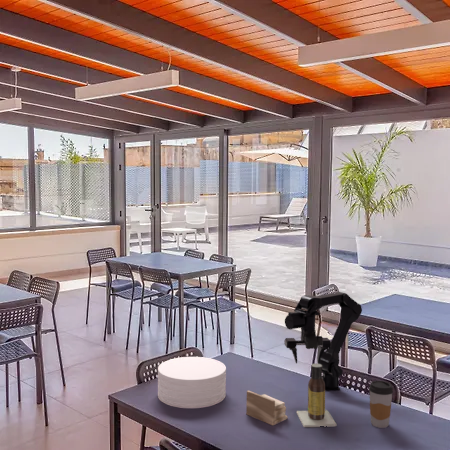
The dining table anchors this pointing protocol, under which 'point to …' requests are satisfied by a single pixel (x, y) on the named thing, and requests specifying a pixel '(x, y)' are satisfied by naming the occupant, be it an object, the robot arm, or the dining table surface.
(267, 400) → the offcut rack
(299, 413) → the cream tile board
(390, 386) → the coffee cup
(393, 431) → the dining table surface
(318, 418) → the sauce bottle
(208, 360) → the plate stack
